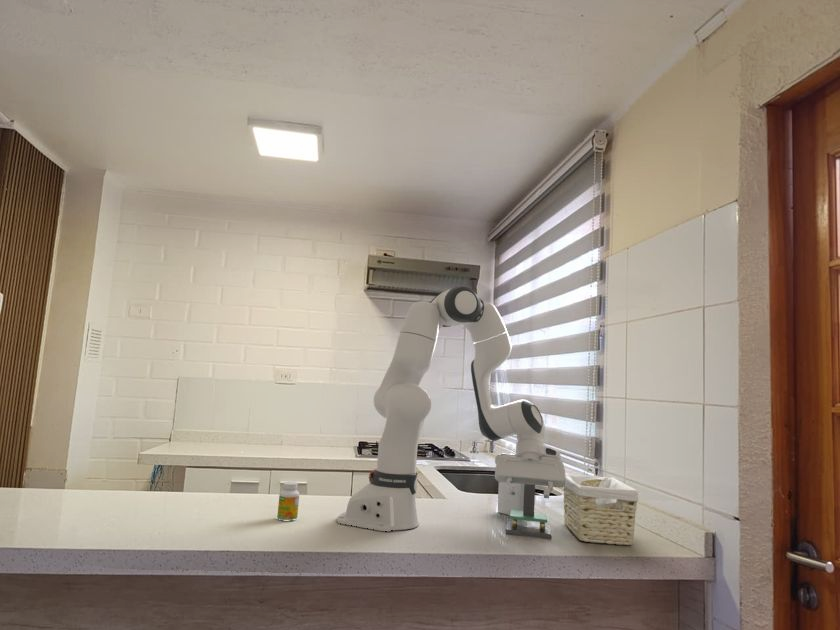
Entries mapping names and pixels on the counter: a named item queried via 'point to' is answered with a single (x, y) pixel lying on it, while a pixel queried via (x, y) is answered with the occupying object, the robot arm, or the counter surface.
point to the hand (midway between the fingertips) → (529, 495)
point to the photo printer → (510, 498)
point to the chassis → (528, 528)
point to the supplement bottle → (288, 501)
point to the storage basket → (600, 509)
